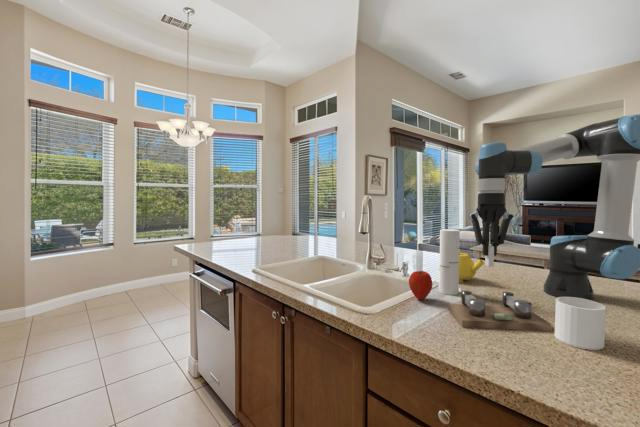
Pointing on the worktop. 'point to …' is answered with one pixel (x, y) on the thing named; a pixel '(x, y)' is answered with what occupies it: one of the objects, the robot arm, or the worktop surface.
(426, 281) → the apple
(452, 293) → the cylindrical container
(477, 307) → the knob
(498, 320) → the levelling board
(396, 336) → the worktop surface
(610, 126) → the robot arm
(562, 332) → the mug
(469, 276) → the teapot
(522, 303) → the knob
